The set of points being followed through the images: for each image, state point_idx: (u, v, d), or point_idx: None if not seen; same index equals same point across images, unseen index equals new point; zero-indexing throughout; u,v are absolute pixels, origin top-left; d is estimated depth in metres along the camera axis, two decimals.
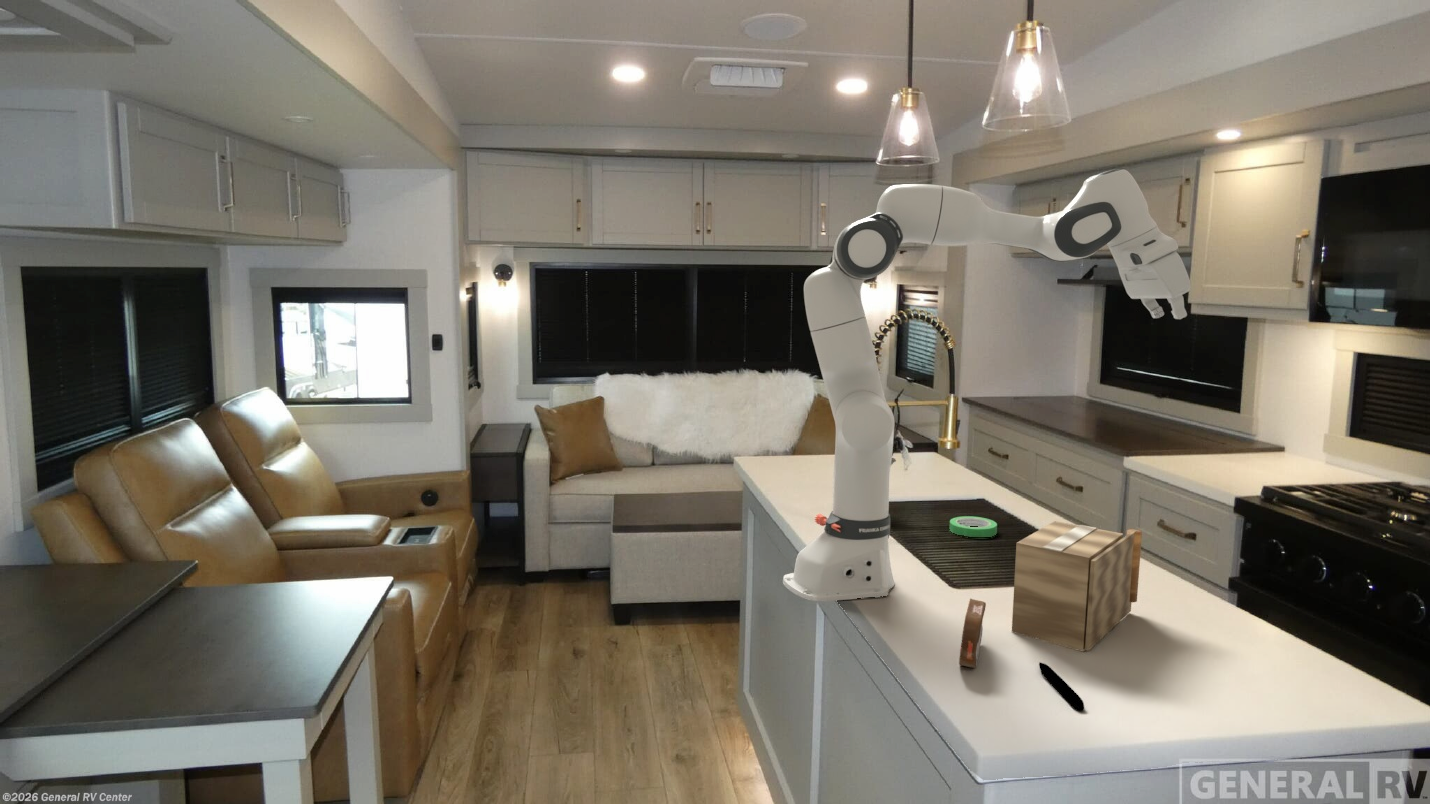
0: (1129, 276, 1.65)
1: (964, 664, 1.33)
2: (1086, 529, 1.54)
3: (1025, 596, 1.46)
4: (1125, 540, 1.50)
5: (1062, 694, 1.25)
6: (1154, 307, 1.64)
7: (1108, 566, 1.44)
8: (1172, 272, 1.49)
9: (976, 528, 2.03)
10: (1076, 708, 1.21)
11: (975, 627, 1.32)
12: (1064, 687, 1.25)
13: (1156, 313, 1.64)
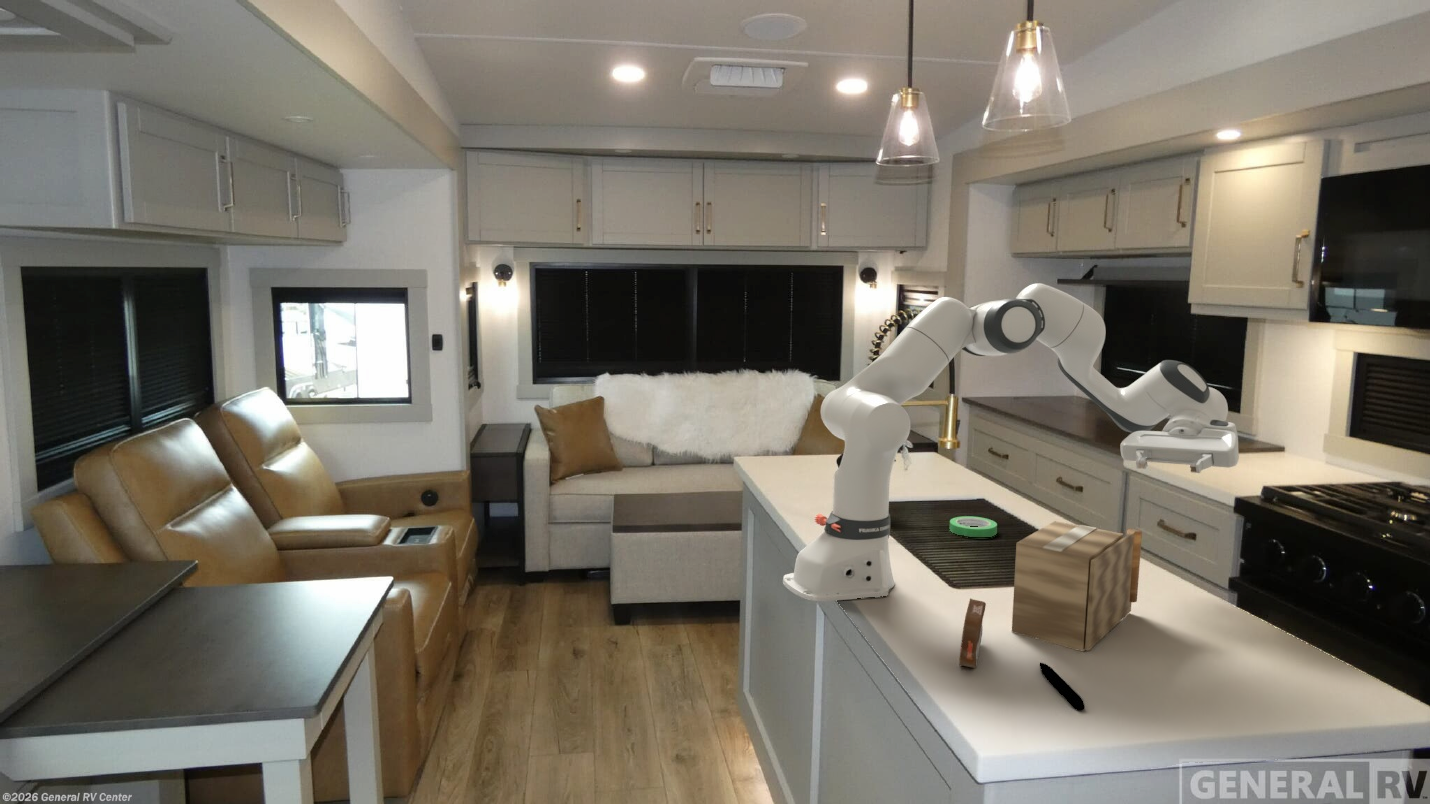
0: (1148, 436, 1.70)
1: (964, 664, 1.33)
2: (1086, 529, 1.54)
3: (1025, 596, 1.46)
4: (1125, 540, 1.50)
5: (1063, 694, 1.25)
6: None
7: (1108, 566, 1.44)
8: (1237, 448, 1.60)
9: (976, 528, 2.03)
10: (1076, 708, 1.21)
11: (975, 627, 1.32)
12: (1065, 687, 1.25)
13: (1145, 461, 1.64)
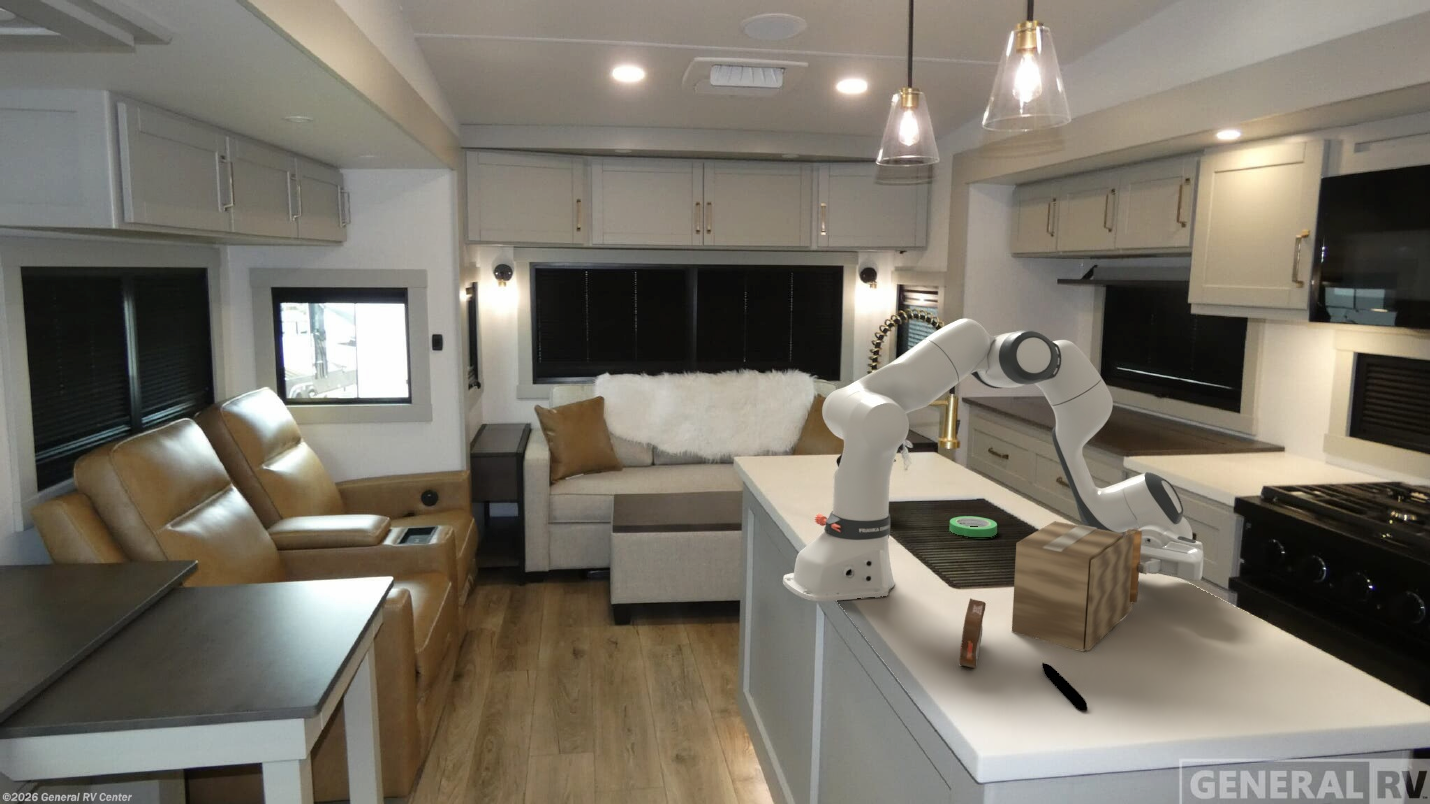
0: None
1: (964, 664, 1.33)
2: (1086, 529, 1.54)
3: (1025, 596, 1.46)
4: (1125, 540, 1.50)
5: (1065, 694, 1.25)
6: None
7: (1108, 566, 1.44)
8: None
9: (976, 528, 2.03)
10: (1079, 708, 1.21)
11: (975, 627, 1.32)
12: (1067, 687, 1.25)
13: None
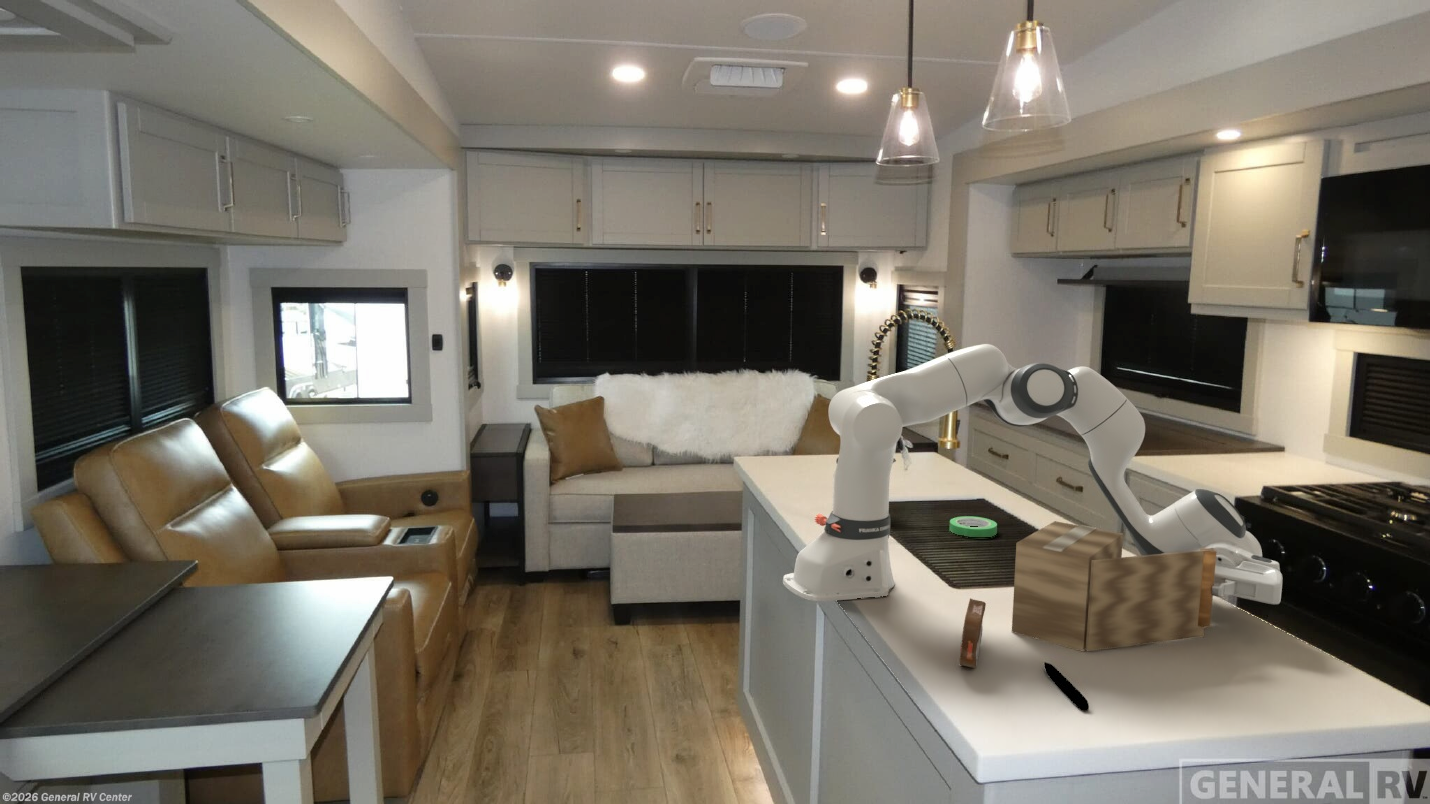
0: None
1: (964, 664, 1.33)
2: (1086, 529, 1.54)
3: (1025, 596, 1.46)
4: (1177, 555, 1.42)
5: (1067, 694, 1.25)
6: None
7: (1132, 574, 1.40)
8: None
9: (976, 528, 2.03)
10: (1081, 708, 1.21)
11: (975, 627, 1.32)
12: (1069, 687, 1.25)
13: None
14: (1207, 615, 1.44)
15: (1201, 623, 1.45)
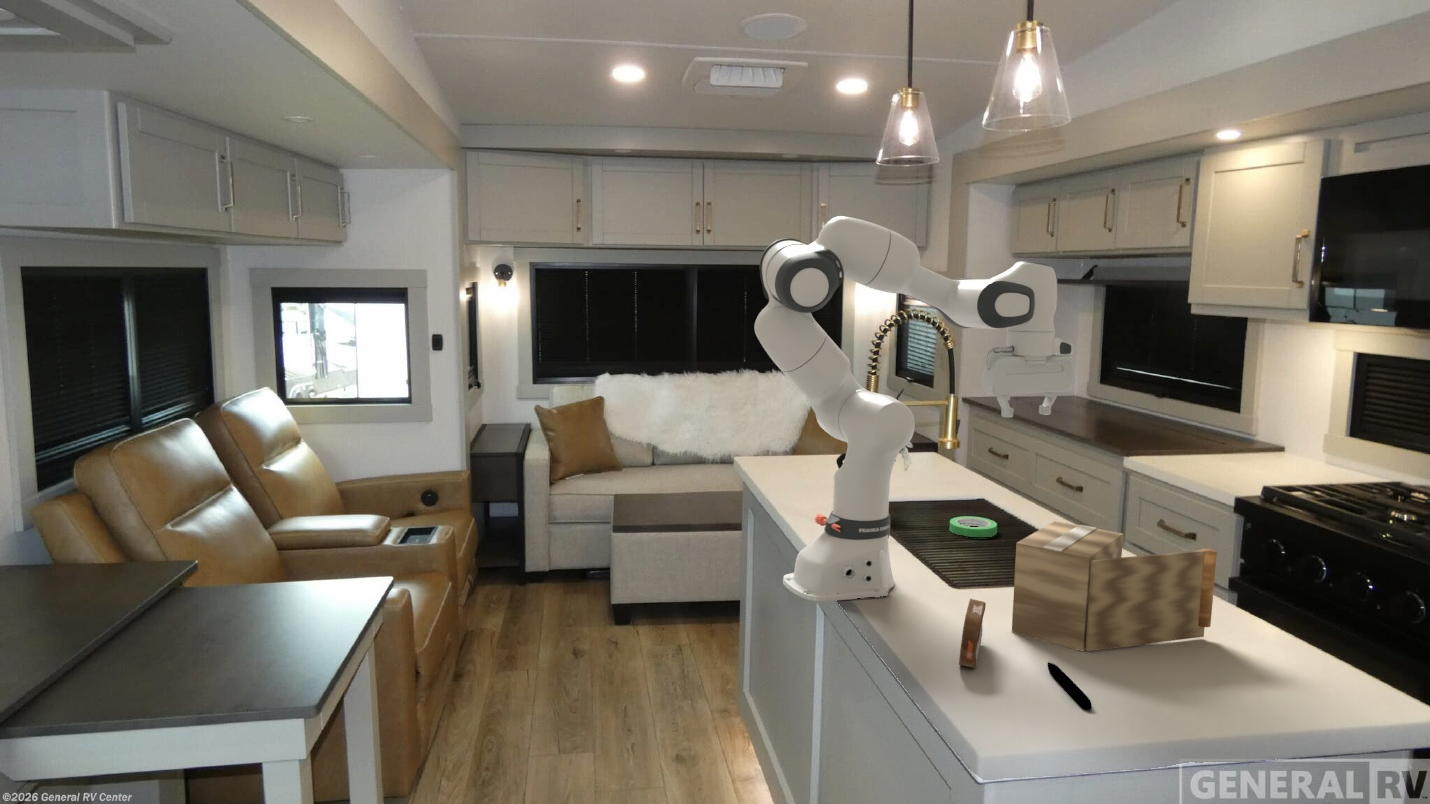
0: (1010, 370, 1.64)
1: (964, 664, 1.33)
2: (1086, 529, 1.54)
3: (1025, 596, 1.46)
4: (1178, 555, 1.42)
5: (1070, 694, 1.25)
6: None
7: (1132, 574, 1.40)
8: None
9: (976, 528, 2.03)
10: (1084, 708, 1.21)
11: (975, 627, 1.32)
12: (1072, 687, 1.25)
13: None
14: (1207, 615, 1.44)
15: (1201, 623, 1.45)
